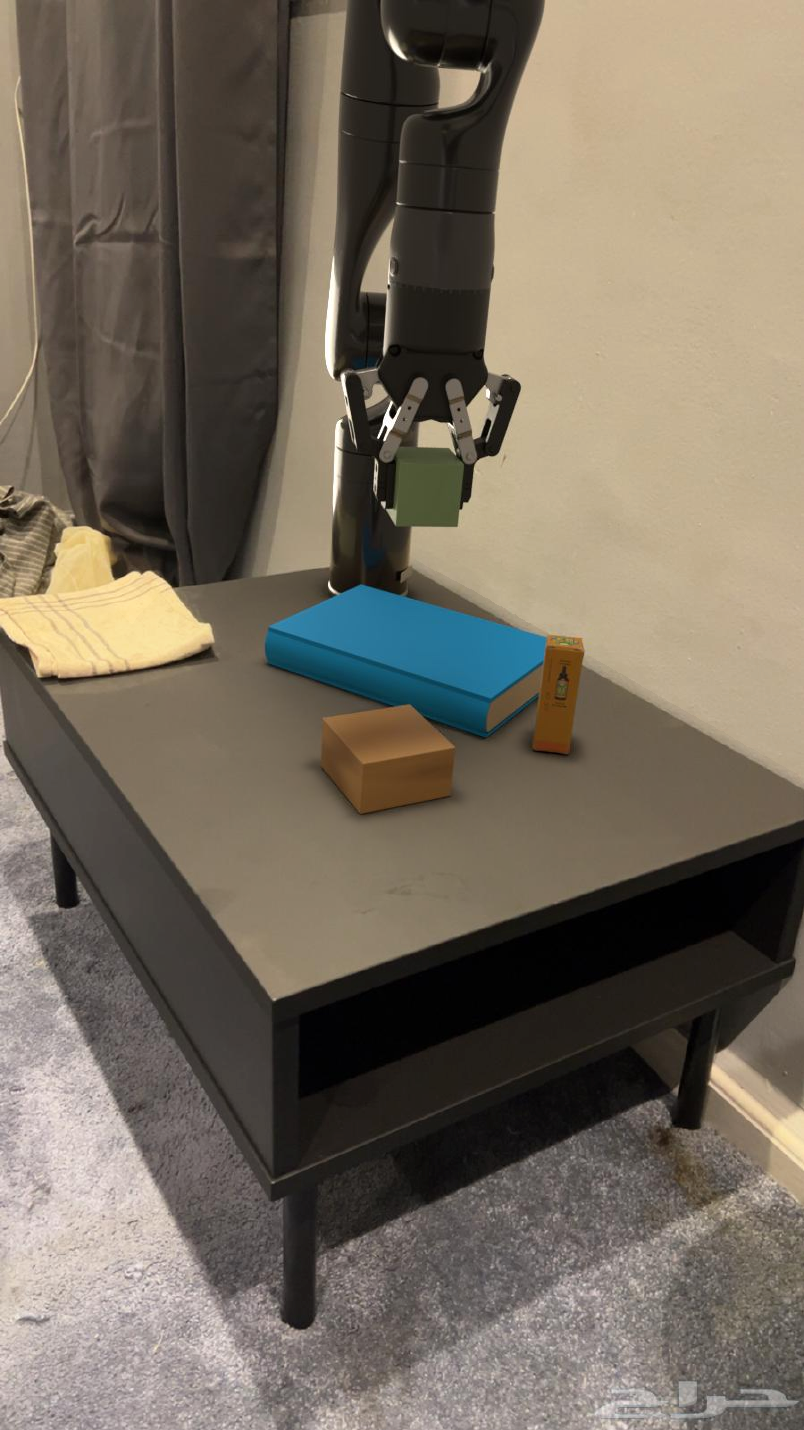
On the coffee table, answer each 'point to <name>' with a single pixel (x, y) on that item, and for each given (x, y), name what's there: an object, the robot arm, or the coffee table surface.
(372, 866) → the coffee table surface
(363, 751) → the oak block
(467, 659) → the book
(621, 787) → the coffee table surface
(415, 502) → the green block
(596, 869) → the coffee table surface
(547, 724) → the supplement box
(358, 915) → the coffee table surface
